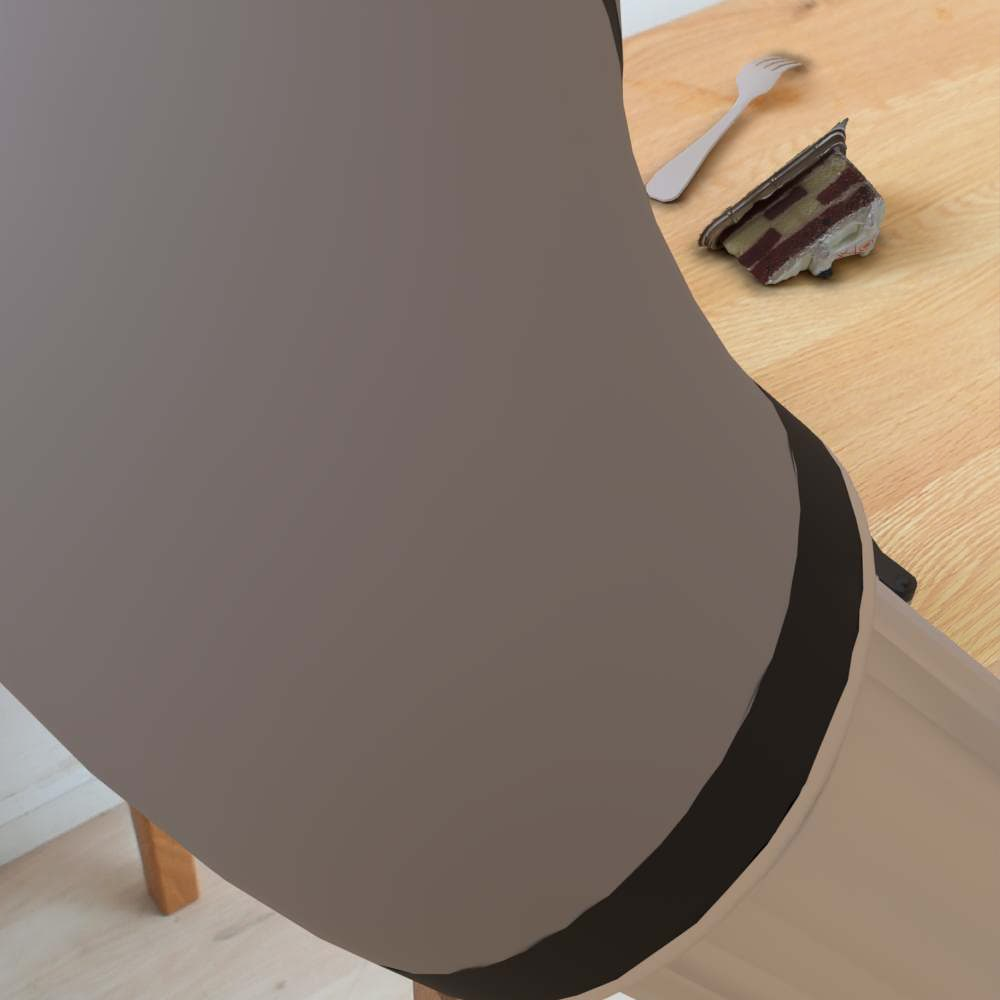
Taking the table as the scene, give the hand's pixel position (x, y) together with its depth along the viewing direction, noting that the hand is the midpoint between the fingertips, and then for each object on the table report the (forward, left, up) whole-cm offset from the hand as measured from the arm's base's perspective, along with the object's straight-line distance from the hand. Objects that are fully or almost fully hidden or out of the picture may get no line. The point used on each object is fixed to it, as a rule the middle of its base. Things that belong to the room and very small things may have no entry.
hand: (533, 488), depth 67 cm
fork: (+42, +19, -10) cm, 47 cm away
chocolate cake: (+34, +8, -10) cm, 36 cm away
